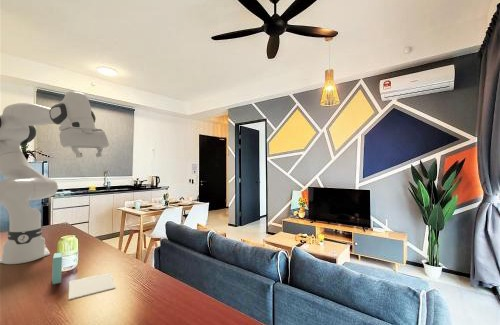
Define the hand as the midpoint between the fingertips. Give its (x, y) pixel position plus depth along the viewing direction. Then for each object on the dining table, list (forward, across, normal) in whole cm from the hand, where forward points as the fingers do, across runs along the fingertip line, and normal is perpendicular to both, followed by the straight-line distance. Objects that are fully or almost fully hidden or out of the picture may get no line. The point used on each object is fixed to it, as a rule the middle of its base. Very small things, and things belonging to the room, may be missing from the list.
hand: (89, 157), depth 106 cm
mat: (+51, +13, +3) cm, 53 cm away
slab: (+47, +15, -13) cm, 51 cm away
